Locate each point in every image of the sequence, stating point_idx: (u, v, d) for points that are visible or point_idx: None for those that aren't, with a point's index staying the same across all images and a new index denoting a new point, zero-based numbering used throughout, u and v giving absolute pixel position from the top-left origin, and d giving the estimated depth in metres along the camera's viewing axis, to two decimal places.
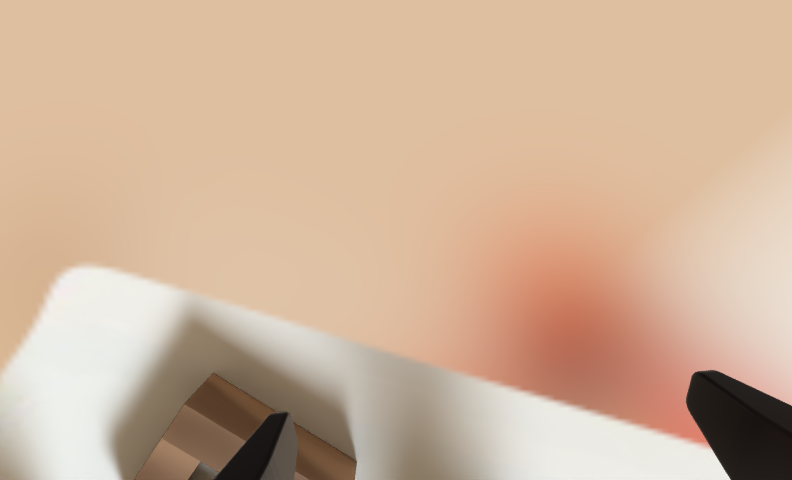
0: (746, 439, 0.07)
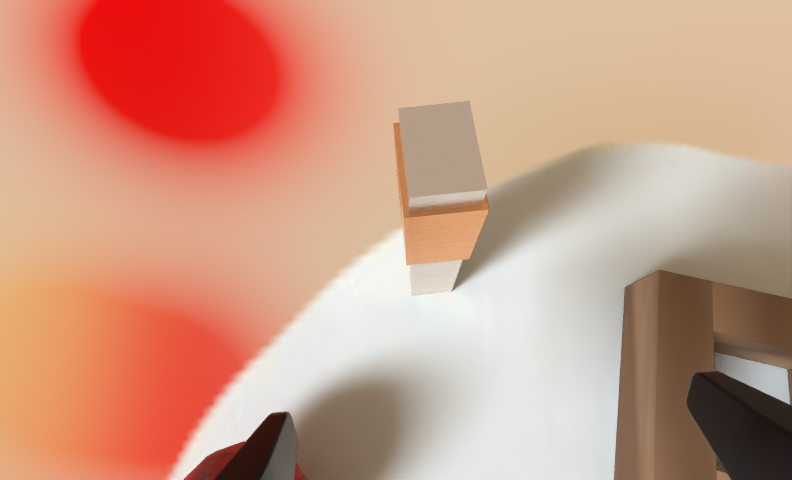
0: (746, 439, 0.07)
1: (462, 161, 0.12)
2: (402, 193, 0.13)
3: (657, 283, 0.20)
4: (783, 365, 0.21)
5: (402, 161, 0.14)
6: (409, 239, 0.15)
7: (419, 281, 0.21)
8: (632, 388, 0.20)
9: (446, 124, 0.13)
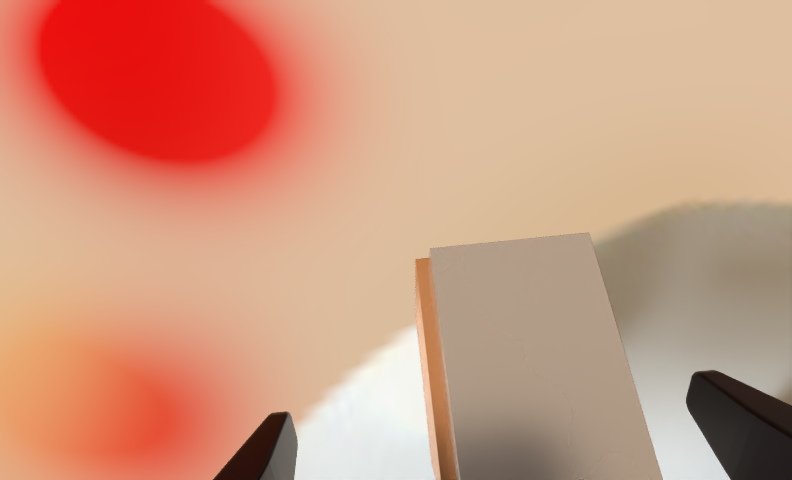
0: (746, 439, 0.07)
1: (592, 401, 0.05)
2: (439, 442, 0.06)
3: None
4: None
5: (437, 355, 0.06)
6: None
7: None
8: None
9: (542, 293, 0.06)
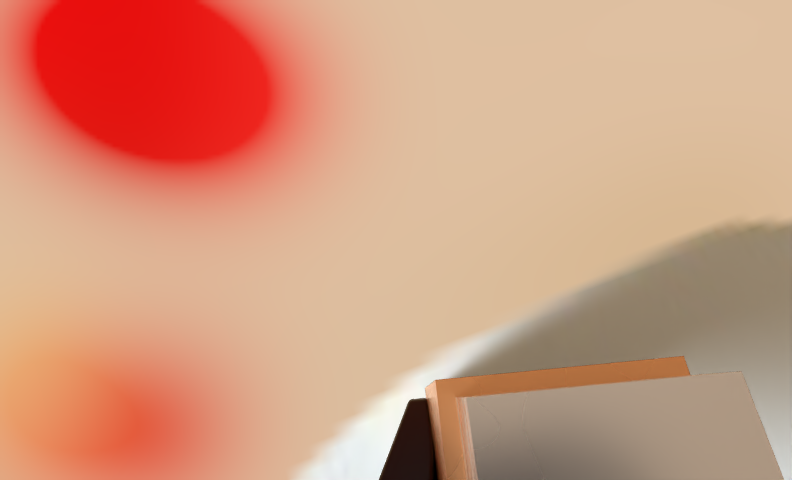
0: None
1: None
2: None
3: None
4: None
5: None
6: None
7: None
8: None
9: None
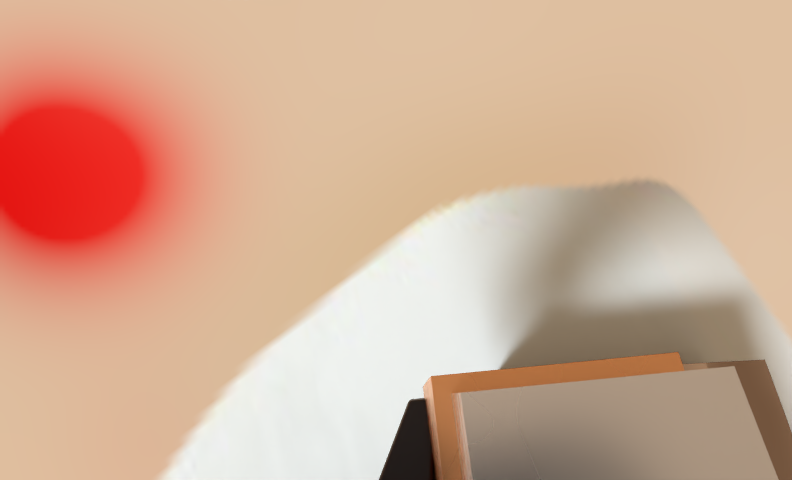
0: None
1: None
2: None
3: None
4: None
5: None
6: None
7: None
8: None
9: None
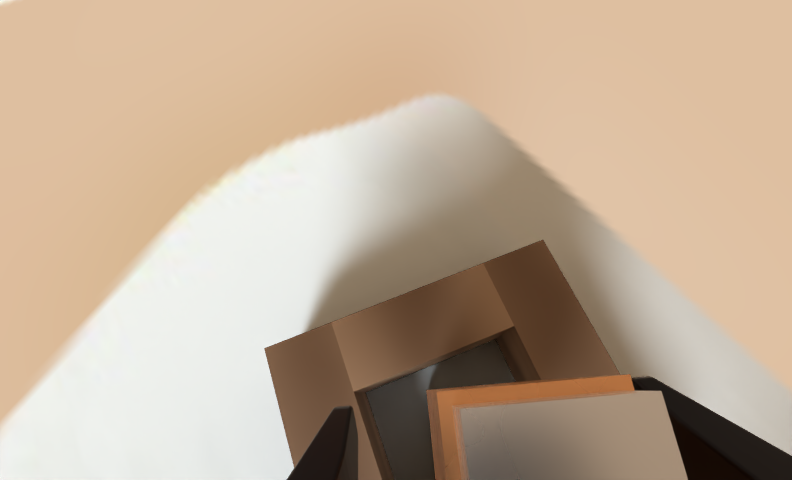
0: None
1: None
2: None
3: (271, 366, 0.14)
4: (485, 342, 0.17)
5: None
6: None
7: None
8: None
9: (605, 479, 0.04)
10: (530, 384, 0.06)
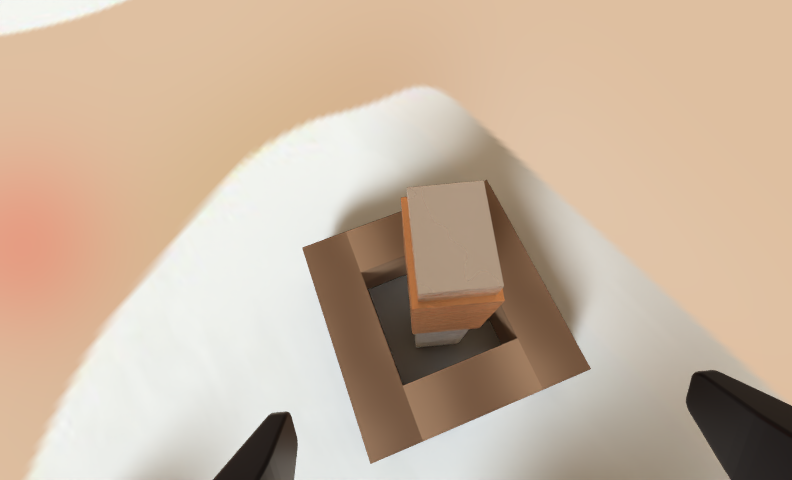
0: (746, 439, 0.07)
1: (476, 251, 0.11)
2: (410, 280, 0.12)
3: None
4: None
5: (410, 242, 0.13)
6: (416, 320, 0.14)
7: (424, 339, 0.20)
8: None
9: (459, 207, 0.12)
10: None
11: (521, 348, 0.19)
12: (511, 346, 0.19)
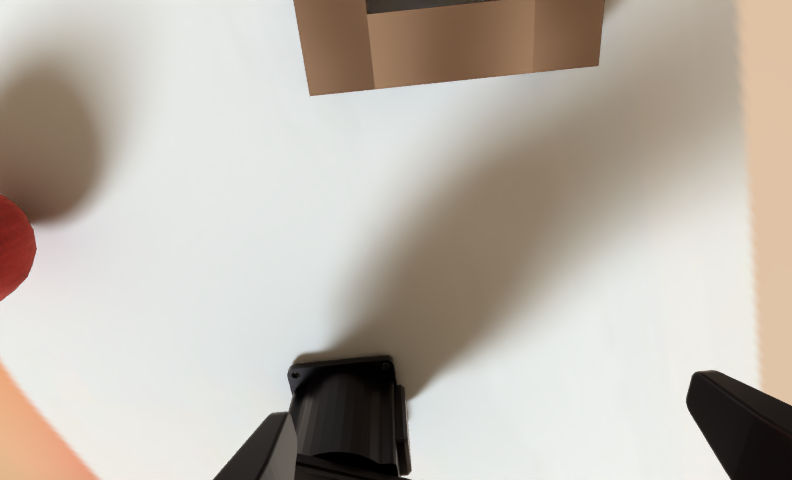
0: (746, 439, 0.07)
1: None
2: None
3: None
4: None
5: None
6: None
7: None
8: None
9: None
10: None
11: (533, 12, 0.14)
12: (522, 5, 0.14)
